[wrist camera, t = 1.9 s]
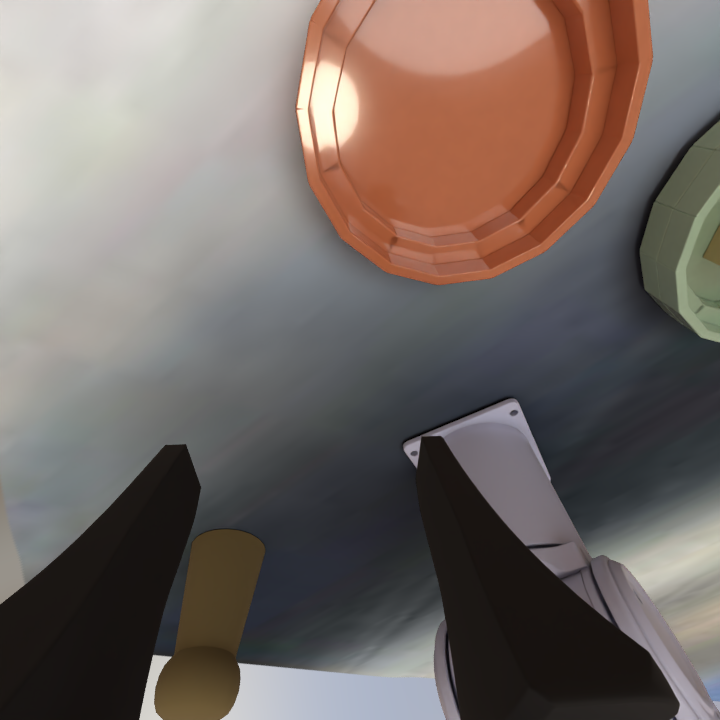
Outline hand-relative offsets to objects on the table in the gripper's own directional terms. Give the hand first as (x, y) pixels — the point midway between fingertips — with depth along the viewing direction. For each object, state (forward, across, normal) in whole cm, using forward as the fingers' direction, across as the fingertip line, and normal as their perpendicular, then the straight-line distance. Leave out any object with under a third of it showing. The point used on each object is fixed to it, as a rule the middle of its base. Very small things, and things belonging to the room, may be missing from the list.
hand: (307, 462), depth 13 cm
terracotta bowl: (+10, -6, -9) cm, 15 cm away
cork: (+11, +9, +23) cm, 26 cm away
